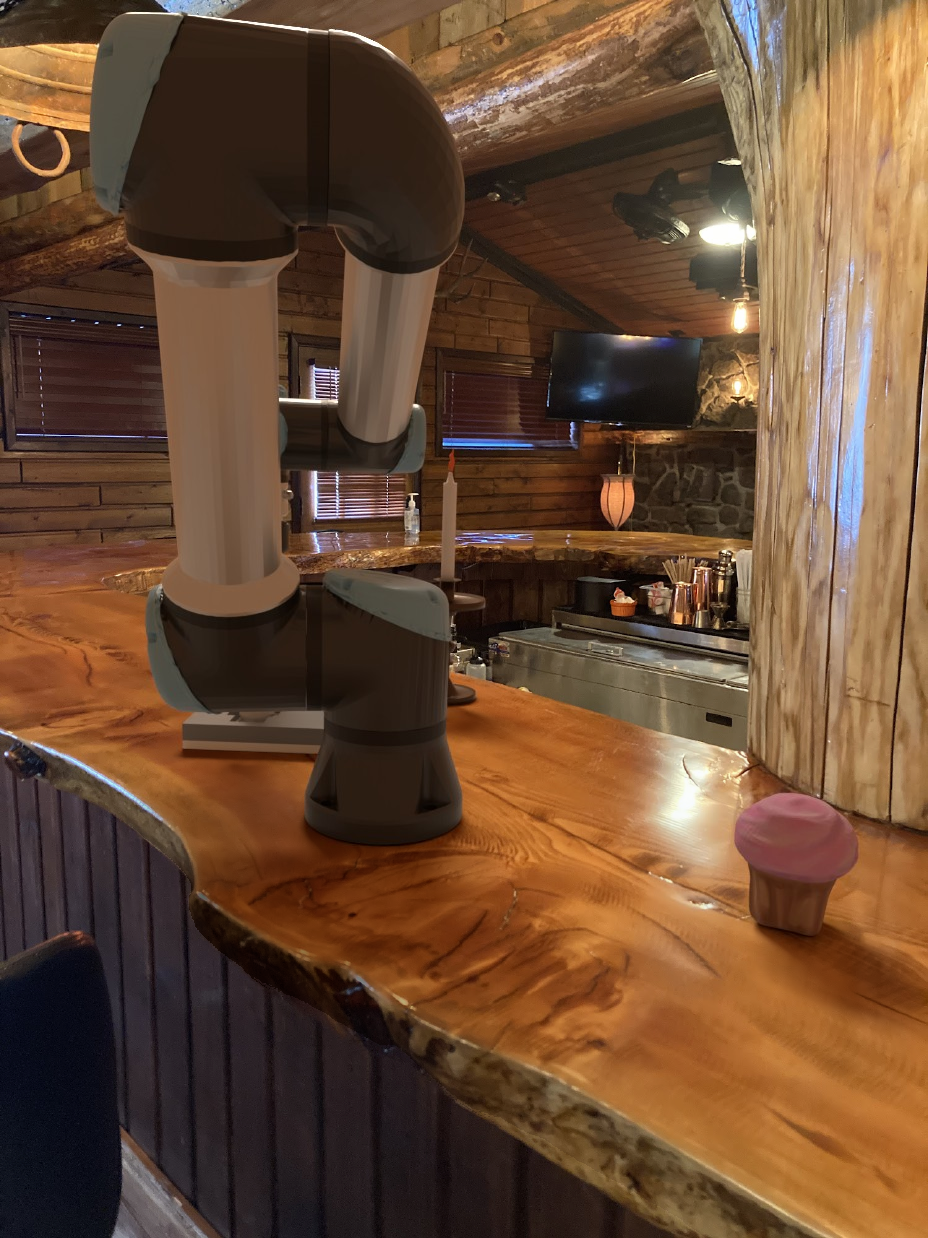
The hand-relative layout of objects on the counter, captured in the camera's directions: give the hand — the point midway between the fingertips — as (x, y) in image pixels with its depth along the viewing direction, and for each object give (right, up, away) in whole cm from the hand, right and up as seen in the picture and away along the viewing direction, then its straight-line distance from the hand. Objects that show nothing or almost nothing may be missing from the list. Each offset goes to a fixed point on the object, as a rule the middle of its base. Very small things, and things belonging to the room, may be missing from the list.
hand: (257, 695), depth 112 cm
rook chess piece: (0, -4, +1) cm, 4 cm away
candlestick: (+22, -2, +20) cm, 30 cm away
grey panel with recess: (+6, -5, +1) cm, 8 cm away
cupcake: (+50, -14, -41) cm, 66 cm away
